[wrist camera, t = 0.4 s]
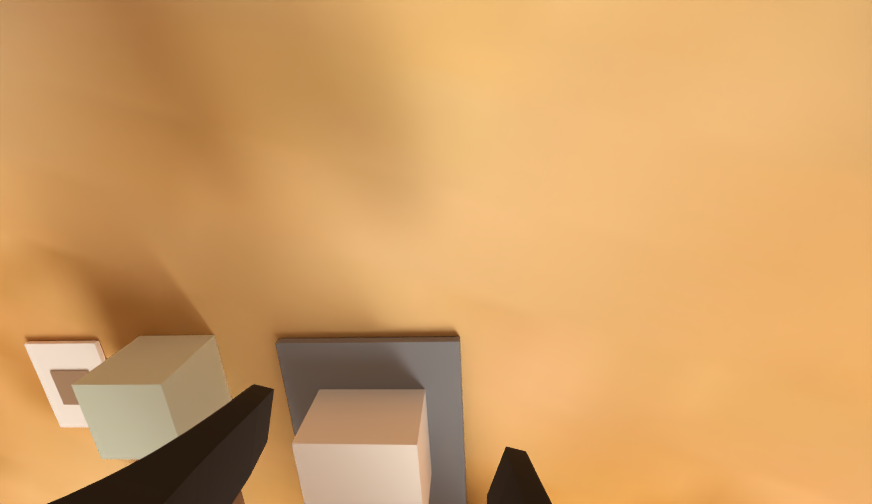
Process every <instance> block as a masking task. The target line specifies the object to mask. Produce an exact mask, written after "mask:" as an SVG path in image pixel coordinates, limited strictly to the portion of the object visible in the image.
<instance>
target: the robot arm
mask: <svg viewBox="0 0 872 504" xmlns="http://www.w3.org/2000/svg"><path fill="white" fill-rule="evenodd" d="M273 393H274V389H271V388H267V387H263V386H259V385H255V384H254V385H252V386H250V387H249V388H247V389H246V390H245V391H243V392H242V393H241V394H239V395H238V396H237V397H235V398H234V399H233V400H231V401H230V402H228V403H227V404H226V405H224V406H223V407H221V408H220V409H219V410H217V411H216V412H214V413H213V414H211V415H210V416H209V417H207V418H206V419H204V420H203V421H201V422H200V423H198V424H197V425H195V426H194V427H192V428H191V429H189V430H188V431H186V432H185V433H183V434H181V435H180V436H178V437H177V438H175V439H173V440H172V441H170V442H168V443H167V444H165V445H164V446H162V447H160V448H159V449H157V450H155V451H154V452H152V453H150V454H148V455H147V456H145V457H143V458H141V459H140V460H138V461H136V462H134V463H132V464H130V465H129V466H127V467H125V468H123V469H121V470H119V471H117V472H115V473H113V474H111V475H109V476H107V477H105V478H103V479H101V480H99V481H97V482H95V483H93V484H91V485H88V486H86V487H84V488H82V489H80V490H78V491H76V492H73V493H71V494H69V495H67V496H65V497H62V498H60V499H58V500H55V501H53V502H50V503H48V504H232V503H233V502H234V500H235V499H236V497H237V496H238V494H239V492H240V491H241V489H242V488H243V486H244V484H245V483H246V481H247V480H248V478H249V476H250V475H251V473H252V471H253V469H254V467H255V465H256V463H257V461H258V459H259V457H260V455H261V453H262V451H263V449H264V447H265V445H266V443H267V439H268V431H269V423H270V416H271V408H272V400H273ZM487 504H552V503H551V501H550V499H549V497H548V495H547V493H546V491H545V489H544V487H543V485H542V483H541V481H540V479H539V477H538V475H537V473H536V471H535V469H534V467H533V465H532V463H531V461H530V459H529V457H528V455H527V453H526V451H522V450H518V449H514V448H510V447H506V448H505V451H504V453H503V456H502V458H501V461H500V464H499V466H498V469H497V471H496V474H495V476H494V479H493V482H492V484H491V487H490V489H489V492H488V495H487Z"/></svg>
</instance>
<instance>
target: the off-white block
mask: <svg viewBox="0 0 872 504" xmlns="http://www.w3.org/2000/svg"><path fill="white" fill-rule="evenodd" d="M292 448H293V453H294V457H295V462H296V467H297V471H298V476H299V481H300V485H301V490H302V495H303V499H304V504H429V494H430V484H431V474H432V471H431V458H430V445H429V432H428V419H427V406H426V393H425V389H319V391H318V393H317V395H316V397H315V399H314V401H313V403H312V405H311V407H310V409H309V411H308V413H307V414H306V416H305V418H304V420H303V422H302V424H301V426H300V428H299V430H298V432H297V434H296V436H295V438H294V440H293V442H292Z"/></svg>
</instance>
